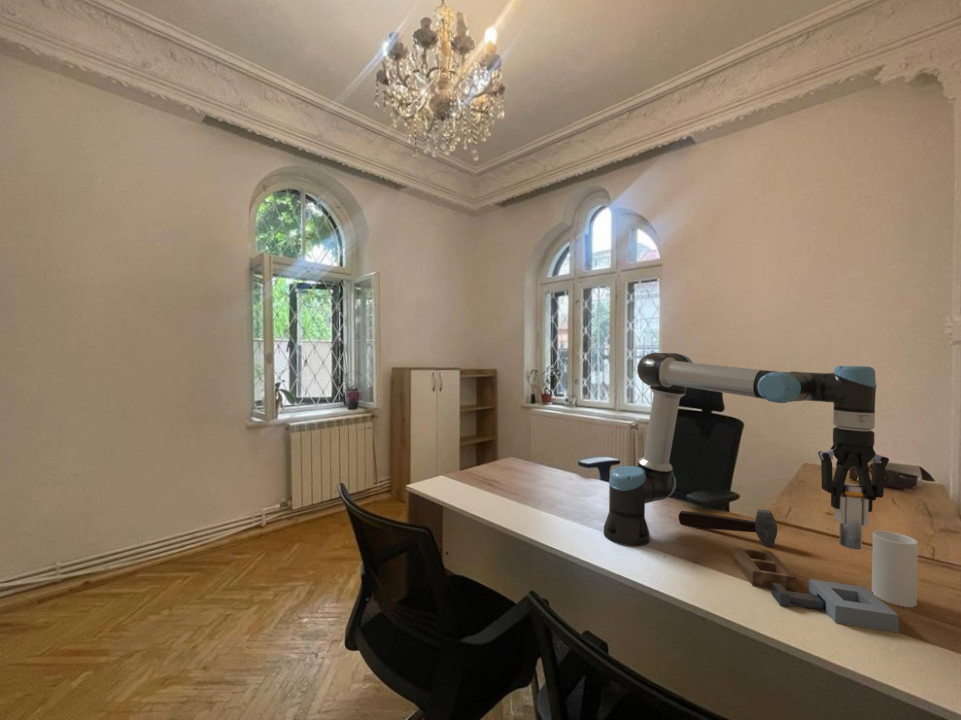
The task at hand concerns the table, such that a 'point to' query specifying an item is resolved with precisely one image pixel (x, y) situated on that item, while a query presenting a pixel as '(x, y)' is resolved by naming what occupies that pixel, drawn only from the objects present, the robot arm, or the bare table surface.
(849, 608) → the socket block
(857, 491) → the rod
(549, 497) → the table surface
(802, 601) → the dark grey t-shaped block
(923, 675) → the table surface
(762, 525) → the hammer
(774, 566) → the rack
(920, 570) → the table surface
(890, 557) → the cup
